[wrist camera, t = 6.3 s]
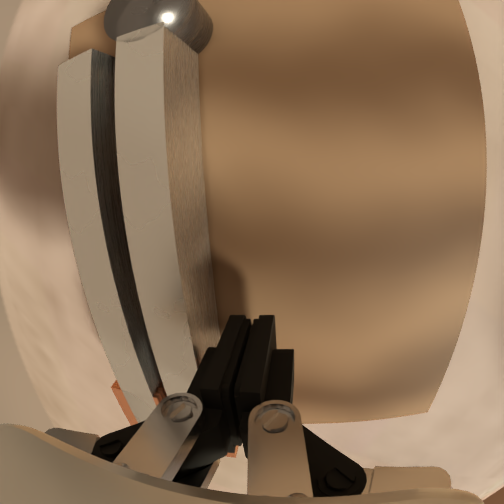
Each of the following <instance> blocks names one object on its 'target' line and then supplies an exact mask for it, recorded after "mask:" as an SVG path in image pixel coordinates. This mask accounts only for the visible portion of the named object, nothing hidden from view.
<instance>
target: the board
mask: <svg viewBox="0 0 504 504" xmlns="http://www.w3.org/2000/svg"><path fill="white" fill-rule="evenodd" d="M198 1H199V2H200V4H201V5H202V6H203V8H204V9H205V10H206V12H207V13H208V14H209V16H210V17H211V19H212V22H213V33H212V37H211V39H210V41H209V43H208V44H207V46H206V47H205V48H204V49H203V51H202V52H200V53H199V54H198V68H199V98H200V120H201V138H202V155H203V170H204V183H205V196H206V208H207V220H208V231H209V241H210V252H211V261H212V271H213V280H214V289H215V297H216V306H217V314H218V322H219V330H220V337H221V335H222V333H223V330H224V328H225V326H226V323H227V321H228V319H229V316H230V315H245V316H246V319H251V322H252V324H253V320H254V319H259V315H275V326H276V344H277V349H294V390H293V405H294V406H295V407H296V408H297V409H298V410H299V412H300V415H301V420H302V424H316V423H343V422H358V421H369V420H378V419H387V418H395V417H402V416H408V415H414V414H420V413H425V412H428V410H429V408H430V406H431V404H432V402H433V400H434V398H435V396H436V393H437V391H438V389H439V387H440V384H441V382H442V380H443V377H444V375H445V372H446V370H447V367H448V365H449V362H450V360H451V357H452V354H453V352H454V349H455V346H456V343H457V340H458V337H459V334H460V331H461V328H462V324H463V321H464V318H465V314H466V311H467V307H468V303H469V299H470V295H471V291H472V287H473V282H474V278H475V273H476V268H477V262H478V257H479V251H480V244H481V237H482V230H483V221H484V210H485V197H486V165H487V163H486V132H485V119H484V109H483V100H482V93H481V86H480V80H479V74H478V69H477V64H476V59H475V55H474V51H473V46H472V42H471V39H470V35H469V31H468V28H467V25H466V21H465V18H464V15H463V12H462V9H461V6H460V3H459V1H458V0H198ZM105 12H106V11H104V12H102V13H99V14H97V15H95V16H93V17H91V18H89V19H87V20H85V21H84V22H82V23H80V24H78V25H76V26H74V27H73V28H72V32H71V40H70V50H69V59H71V58H73V57H75V56H77V55H79V54H81V53H83V52H85V51H87V50H89V49H95V50H98V51H100V52H103V53H106V54H108V55H111V56H113V57H115V56H116V41H115V40H113V39H111V38H110V37H109V36H108V35H107V34H106V32H105V29H104V15H105Z"/></svg>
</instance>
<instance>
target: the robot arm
mask: <svg viewBox="0 0 504 504" xmlns="http://www.w3.org/2000/svg"><path fill="white" fill-rule="evenodd" d="M293 390H294V349H277V344H276V326H275V315H259V319H254V320H253V324H252V322H251V319H246V316H245V315H230V316H229V319H228V321H227V323H226V326H225V328H224V330H223V333H222V335H221V338H220V340H219V342H218V345H217V347H208V348H207V350H206V352H205V354H204V356H203V358H202V361H201V363H200V365H199V367H198V369H197V371H196V373H195V376H194V378H193V380H192V382H191V384H190V386H189V388H188V391H187V393H175V394H171V395H169V396H167V397H165V398H164V399H162V400H161V401H160V402H159V404H158V405H157V406H156V408H155V409H154V410H153V411H152V413H151V414H150V415H149V417H148V418H147V419H146V420H145V421H142V422H140V423H137V424H134V425H132V426H129V427H126V428H124V429H121V430H118V431H115V432H112V433H109V434H107V435H105V436H103V437H101V438H100V437H99V436H98V435H96V434H89V433H83V432H77V431H72V430H66V429H61V428H52V429H49V430H47V431H46V432H45V433H44V432H41V431H38V430H36V429H33V428H30V427H26V426H22V425H16V424H0V504H484V503H483V501H482V500H481V499H480V498H479V497H478V496H477V495H475V494H473V493H470V492H468V491H463V490H458V489H451V480H450V475H449V474H448V473H447V472H446V470H444V469H442V468H440V467H380V466H375V468H374V469H369V468H362V467H361V466H360V465H359V464H357V463H356V462H354V461H353V460H351V459H350V458H348V457H347V456H345V455H344V454H342V453H341V452H339V451H338V450H336V449H335V448H334V447H332V446H331V445H329V444H328V443H326V442H325V441H324V440H322V439H321V438H319V437H318V436H317V435H315V434H314V433H313V432H311V431H310V430H308V429H307V428H306V427H304V426H303V425H302V420H301V415H300V412H299V410H298V409H297V408H296V407H295V406H294V405H293ZM242 443H243V447H244V452H245V456H246V458H247V459H248V481H247V495H246V494H237V493H229V492H222V491H216V490H210V489H207V488H208V486H209V484H210V482H211V480H212V478H213V476H214V474H215V472H216V470H217V468H218V466H219V463H220V458H222V457H224V456H226V455H227V453H234V452H235V449H236V446H241V445H242Z"/></svg>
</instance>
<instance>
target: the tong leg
mask: <svg viewBox="0 0 504 504" xmlns="http://www.w3.org/2000/svg"><path fill="white" fill-rule="evenodd" d="M104 29H105V32H106V34H107V35H108V36H109V37H110V38H111V39H113V40H115V41H116V56H115V131H116V148H117V162H118V173H119V183H120V192H121V200H122V208H123V216H124V222H125V229H126V235H127V241H128V247H129V253H130V258H131V263H132V268H133V273H134V278H135V283H136V288H137V292H138V296H139V301H140V305H141V309H142V313H143V317H144V321H145V325H146V329H147V332H148V336H149V340H150V343H151V347H152V350H153V354H154V357H155V360H156V364H157V367H158V370H159V373H160V376H161V379H162V382H163V385H164V388H165V391H166V394H167V396H169V395H171V394H175V393H187V391H188V388H189V386H190V384H191V382H192V380H193V378H194V376H195V373H196V371H197V369H198V367H199V365H200V363H201V361H202V358H203V356H204V354H205V352H206V350H207V348H208V347H217V345H218V342H219V340H220V338H221V337H220V330H219V322H218V314H217V306H216V297H215V289H214V280H213V271H212V261H211V252H210V241H209V231H208V220H207V208H206V196H205V183H204V170H203V155H202V138H201V120H200V98H199V68H198V54H199V53H200V52H202V51H203V49H204V48H205V47H206V46H207V44H208V43H209V41H210V39H211V37H212V33H213V22H212V19H211V17H210V16H209V14H208V13H207V12H206V10H205V9H204V8H203V6H202V5H201V4H200V2H199V1H198V0H111V2H110V3H109V5H108V7H107V9H106V12H105V15H104ZM237 450H238V446H236V449H235V452H234V453H227V455H226V456H227V457H235V458H236V454H237Z"/></svg>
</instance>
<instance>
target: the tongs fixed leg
mask: <svg viewBox="0 0 504 504" xmlns="http://www.w3.org/2000/svg"><path fill="white" fill-rule="evenodd" d="M57 138H58V153H59V165H60V174H61V183H62V191H63V198H64V204H65V210H66V216H67V222H68V227H69V232H70V237H71V242H72V246H73V251H74V255H75V259H76V263H77V267H78V271H79V275H80V279H81V282H82V286H83V289H84V293H85V296H86V299H87V302H88V306H89V309H90V312H91V315H92V318H93V321H94V324H95V326H96V329H97V332H98V335H99V337H100V340H101V343H102V345H103V348H104V351H105V353H106V356H107V358H108V360H109V363H110V365H111V368H112V370H113V372H114V375H115V377H116V379H117V380H116V381H115V383H114V384H113V385H112V387H111V388H112V390H113V392H114V394H115V396H116V398H117V400H118V402H119V404H120V406H121V408H122V410H123V412H124V414H125V415H126V417H127V419H128V421H129V423H130V424H131V426H132V425H134V424H137V423H140V422H142V421H145V420H146V419H147V418H148V417H149V415H150V414H151V413H152V411H153V410H154V409H155V408H156V406H157V405H158V404H159V402H160V401H161V400H162V399H164V398H165V397H167V394H166V391H165V388H164V385H163V382H162V379H161V376H160V373H159V370H158V367H157V364H156V360H155V357H154V354H153V350H152V347H151V343H150V340H149V336H148V332H147V329H146V325H145V321H144V317H143V313H142V309H141V305H140V301H139V296H138V292H137V288H136V283H135V278H134V273H133V268H132V263H131V258H130V253H129V247H128V241H127V235H126V229H125V222H124V216H123V208H122V200H121V192H120V183H119V173H118V162H117V148H116V131H115V57H113V56H111V55H108V54H106V53H103V52H100V51H98V50H95V49H89V50H87V51H85V52H83V53H81V54H79V55H77V56H75V57H73V58H71V59H69V60H68V61H66V62H64V63H62V64H60V65H58V76H57Z"/></svg>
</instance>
